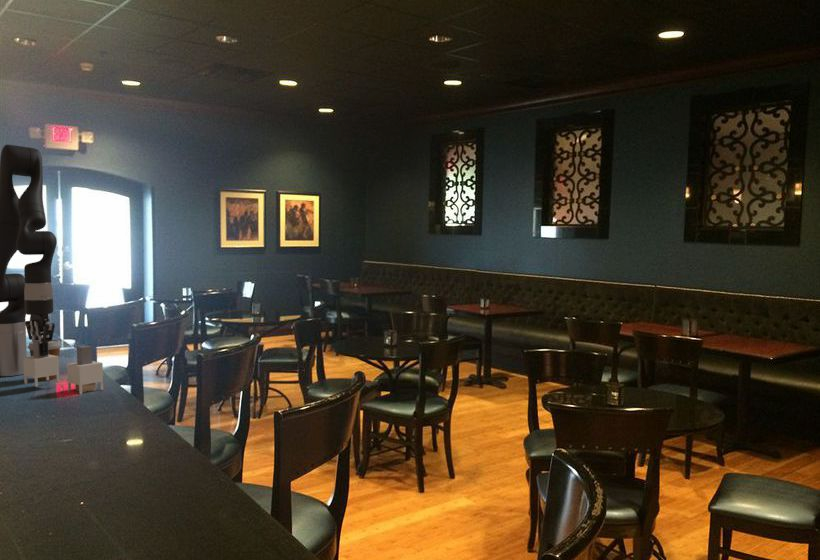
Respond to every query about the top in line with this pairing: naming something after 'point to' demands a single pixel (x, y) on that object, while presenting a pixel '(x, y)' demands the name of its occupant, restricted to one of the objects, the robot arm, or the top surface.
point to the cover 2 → (84, 369)
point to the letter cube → (86, 387)
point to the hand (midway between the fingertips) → (41, 354)
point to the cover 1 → (40, 365)
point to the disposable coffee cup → (52, 350)
